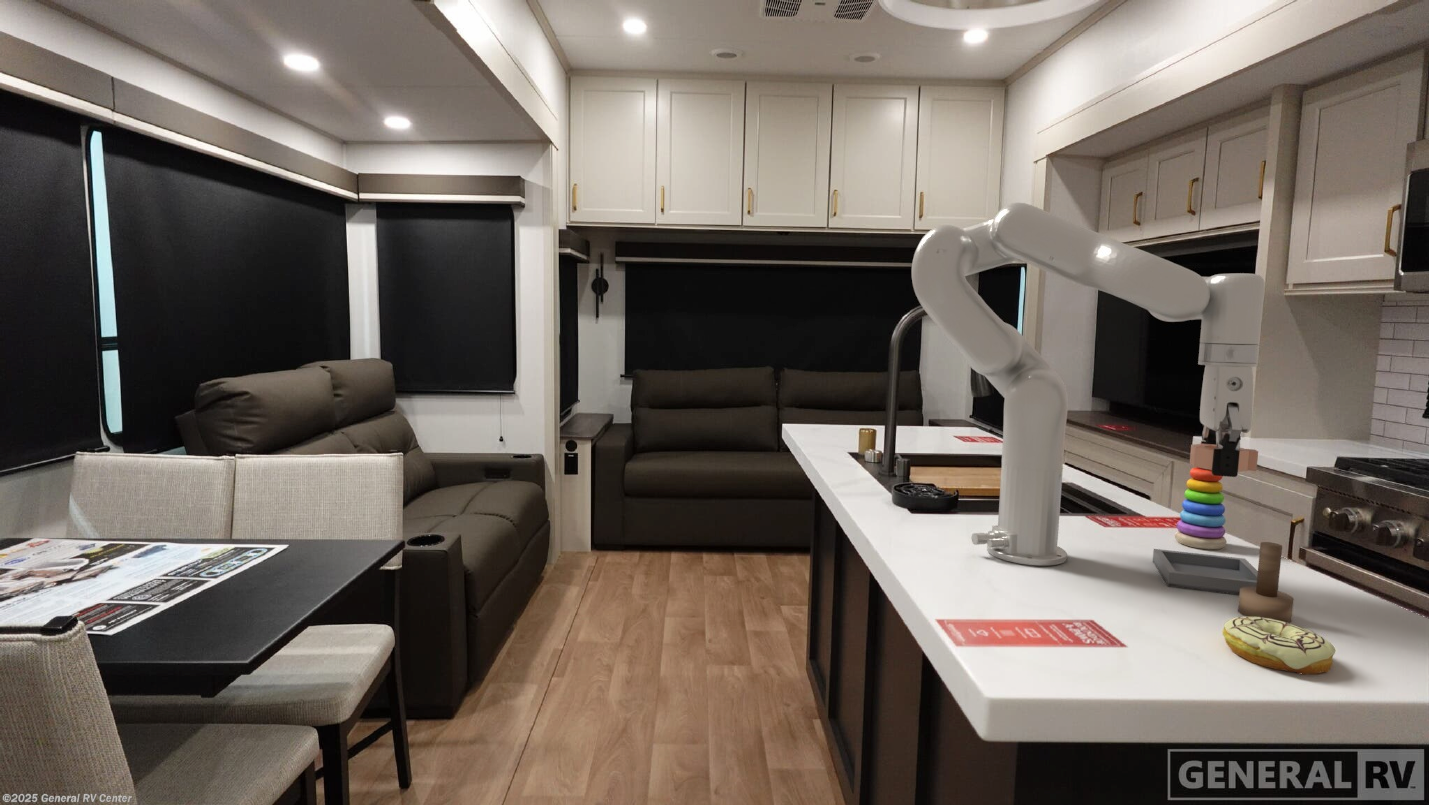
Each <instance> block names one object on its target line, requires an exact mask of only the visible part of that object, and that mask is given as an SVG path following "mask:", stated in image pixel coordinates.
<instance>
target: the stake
mask: <svg viewBox="0 0 1429 805" xmlns="http://www.w3.org/2000/svg"><path fill="white" fill-rule="evenodd" d="M1282 553H1283V545H1282V544H1279V543H1276V542H1270V541H1261V542H1260V546H1259V555H1258V564H1257V571H1258V574H1257V584H1256V587H1252V586H1249V587H1242V588H1240V594H1239V595H1238V607H1237V612H1238V613H1240V614H1241V615H1242V616H1243V617H1244V616H1249V617H1263V618H1270V619H1275V620H1279V621H1283V622H1287V623H1290V624H1291V622H1292V620H1293V619H1292V618H1293V609H1294V600H1295V598H1294V597H1293V596H1292V595H1290V594H1288V593H1285V592H1283V591H1280V590H1279V581H1280V572H1281V563H1282Z"/></svg>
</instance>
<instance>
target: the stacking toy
mask: <svg viewBox="0 0 1429 805" xmlns="http://www.w3.org/2000/svg"><path fill="white" fill-rule="evenodd" d="M1199 444H1201V442H1199ZM1189 475H1190V479H1188V480H1187V481H1186V487H1187V489H1186V490H1185V491H1184V497H1185V498H1186V499H1184V500H1183V502H1182V504H1181V507H1182V510H1181V512H1180V513H1179V517H1180V518H1179V519H1180V520H1178V521H1177V523H1176V528H1177V531H1176V532H1175V533H1174V539H1175V540H1176V542H1178V543H1180V544H1181V545H1184V546H1187V547H1192V548H1196V549H1202V550H1220V549H1223V548H1224V547H1226V546H1227V540H1226V538H1225V537H1224V536H1225V534H1226V529H1225V527H1224V525H1225V524H1226V521H1227V520H1226V517H1225V516H1224V513H1225V511H1226V508H1225V505H1224V504H1222V503H1223V502H1224V500H1225V496H1224V494H1223V493H1222V490H1223V489H1224V486H1223V484H1222V483H1221V480H1223V477H1224V476H1215V475H1213V474H1212V470H1209V469H1204V468H1198V467H1192V468H1191V469H1190V471H1189Z"/></svg>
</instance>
